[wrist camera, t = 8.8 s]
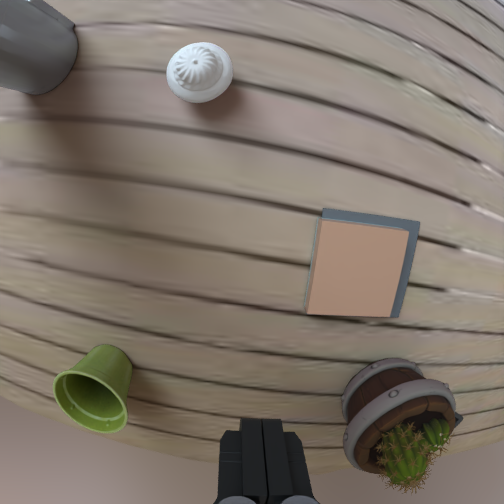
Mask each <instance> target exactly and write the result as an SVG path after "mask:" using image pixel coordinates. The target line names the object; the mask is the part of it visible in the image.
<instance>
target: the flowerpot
mask: <svg viewBox="0 0 504 504" xmlns="http://www.w3.org/2000/svg"><path fill="white" fill-rule="evenodd" d="M448 387H449V385H448V384H447V383H446V384H444V383H442V382H440V381H438V380H432V379H425V378H424V377H423V374H422V372H421V370H420V369H419V368H418V367H417V366H416V364H415V362H409V361H407V360H405V359H398V358H392V359H388V358H387V359H383V360H379V361H376V362H373V363H371V364H370V365H368V366H367V367H365V368H364V369H362V370H361V371H360V372H359V373H358V374H357V375H355V376H354V377H353V378H352V379H351V380H350V382H349V383H348V385H347V387H346V389H345V391H344V394H343V396H342V397H341V399H342V412H343V416H344V419H345V420H346V422H347V423H348V427H347V428H346V431H345V433H344V436H343V446H344V451H345V454H346V457H347V459H348V460H349V462H350V463H351V464H352V465H353V466H354V467H355V468H357V469H359V470H362V471H366V472H369V473H374V474H381V475H382V474H384V475H386V476H388V477H389V478H390V480H391V484H389V485H390V486H391V485H392V486H393V484H395V485H396V484H397V485H398V486H399V485H401V488H400V490H401V489H402V485H404V486H403V488H404V487H405V492H406V491H407V490H408V489H410V488H408V487H412V492H413V488H414V487H415V492H416V486H417V487H418V488H421V487H419V486H418V485H419V483H418V482H420V481H421V480H422V479H426V477H425V478H422V477H423V475H425V474H426V472H427V471H426V472H425V470H426V467H427V466H428V464H430V463H429V462H431V461H430V460H431V458H432V457H430V455H431V454H432V453H433V455H434V454H435V453H434V452H435V451H437V450H438V449H440V452H441V451H443V450H442V448H443V446H444V444H445V443H447V441H448V439H449V441H450V439H451V438H450V437H451V436H449V435H450V434H451V433H452V431H453V429H454V427H455V410H456V404H455V399H454V397H453V394H452V392H451V391H450V389H449V388H448ZM453 435H454V434H453ZM453 435H452V436H453ZM447 444H448V443H447ZM449 444H450V442H449ZM444 449H445V448H444ZM445 450H447V449H445ZM430 452H432V453H430ZM444 452H445V451H444ZM429 454H430V455H429ZM440 454H441V453H440ZM440 454H439V455H437V456H441V455H440ZM435 455H436V454H435ZM428 456H429V457H428ZM431 456H432V455H431ZM437 456H436V457H437ZM434 457H435V456H434ZM436 457H435V458H436ZM428 458H429V459H428ZM432 460H433V459H432ZM432 463H433V462H432ZM384 475H382V477H383V476H384ZM379 476H380V475H379ZM418 480H419V481H418ZM422 481H423V480H422ZM389 482H390V481H389ZM423 482H424V481H423ZM417 483H418V485H417ZM424 484H425V483H424ZM407 485H409V486H407ZM413 485H414V486H413ZM415 485H416V486H415ZM398 486H397V487H398ZM395 488H396V487H395ZM406 488H408V489H407V490H406ZM393 489H394V488H393ZM405 492H404V493H405Z"/></svg>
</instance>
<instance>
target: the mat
mask: <svg viewBox="0 0 504 504" xmlns="http://www.w3.org/2000/svg"><path fill="white" fill-rule="evenodd" d="M322 218H328V219H336V220H344V221H352V222H360V223H368V224H376V225H383V226H390V227H398V228H402V229H404V230H407V231H409V236H408V241H407V246H406V251H405V256H404V261H403V265H402V270H401V274H400V279H399V283H398V287H397V291H396V295H395V299H394V303H393V307H392V310H391V314H390V317H399V313H400V310H401V306H402V302H403V299H404V295H405V291H406V287H407V283H408V279H409V274H410V270H411V266H412V261H413V257H414V252H415V247H416V242H417V237H418V231H419V226H420V222H418V221H412V220H405V219H399V218H392V217H385V216H378V215H371V214H364V213H357V212H349V211H342V210H334V209H326V208H323V212H322ZM306 314H307V313H306ZM311 315H319V314H311ZM332 316H342V315H332ZM359 317H372V316H359Z"/></svg>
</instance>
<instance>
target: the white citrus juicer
mask: <svg viewBox="0 0 504 504" xmlns="http://www.w3.org/2000/svg"><path fill="white" fill-rule="evenodd" d="M232 78H233V66H232V62H231V59H230V57H229V56H228V54H227V53H226V52H225V51H224V50H223V49H222V48H220V47H219V46H217V45H215V44H211V43H206V42H201V43H194V44H190V45H188V46H185V47H183V48H182V49H180V50H179V51H178V52H177V53H175V55H174V56H173V57H172V58H171V60H170V62H169V64H168V67H167V81H168V84H169V87H170V89H171V90H172V92H173V93H174V94H175V95H176V96H177V97H179V98H181V99H182V100H185V101H188V102H192V103H203V102H207V101H210V100H212V99H214V98H216V97H218V96H219V95H221V94H222V93H223V92H224V91H225V90H226V89H227V88H228V86H229V85H230V83H231V81H232Z"/></svg>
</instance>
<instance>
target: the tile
mask: <svg viewBox="0 0 504 504" xmlns="http://www.w3.org/2000/svg"><path fill="white" fill-rule="evenodd" d="M408 236H409V231H407V230H404V229H402V228H398V227H390V226H383V225H376V224H368V223H360V222H352V221H344V220H336V219H328V218H319V217H318V219H317V226H316V233H315V240H314V247H313V253H312V260H311V266H310V273H309V279H308V285H307V291H306V297H305V303H304V307H305V310H306V312H307V314H319V315H342V316H372V317H390V314H391V310H392V307H393V303H394V299H395V295H396V291H397V287H398V283H399V279H400V274H401V270H402V265H403V261H404V256H405V251H406V246H407V241H408Z"/></svg>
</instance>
